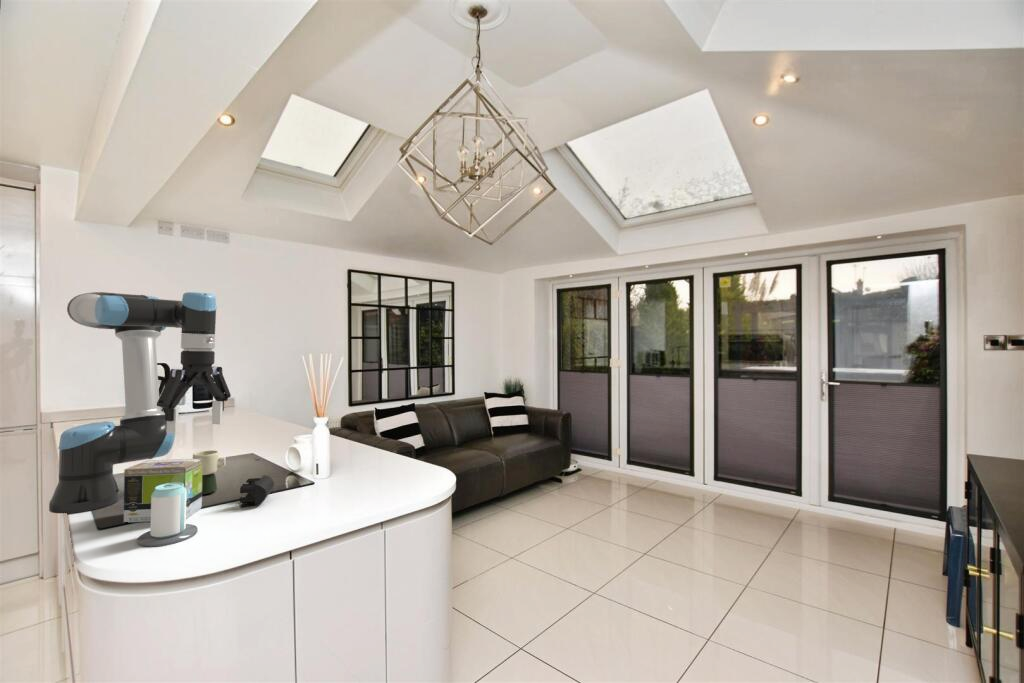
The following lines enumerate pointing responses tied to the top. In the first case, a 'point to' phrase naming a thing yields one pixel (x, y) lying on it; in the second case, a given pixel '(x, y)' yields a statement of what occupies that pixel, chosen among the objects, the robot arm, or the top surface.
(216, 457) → the character mug
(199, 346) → the robot arm
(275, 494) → the top surface
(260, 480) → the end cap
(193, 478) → the tea box
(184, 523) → the can
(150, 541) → the coaster
